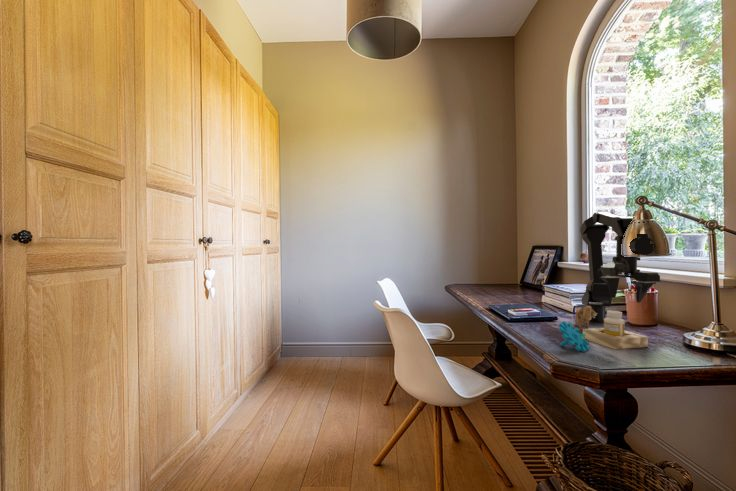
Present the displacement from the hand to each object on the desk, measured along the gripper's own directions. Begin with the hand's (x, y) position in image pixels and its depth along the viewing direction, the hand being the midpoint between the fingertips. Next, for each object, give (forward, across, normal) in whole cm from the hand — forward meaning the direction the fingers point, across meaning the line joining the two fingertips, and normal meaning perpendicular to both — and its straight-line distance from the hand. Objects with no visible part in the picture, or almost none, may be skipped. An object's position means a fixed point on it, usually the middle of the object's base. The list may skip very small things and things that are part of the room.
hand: (625, 300), depth 122 cm
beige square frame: (+12, +6, -11) cm, 17 cm away
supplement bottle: (+12, +6, -11) cm, 17 cm away
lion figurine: (+12, -12, -6) cm, 18 cm away
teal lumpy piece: (+12, +9, -28) cm, 32 cm away
